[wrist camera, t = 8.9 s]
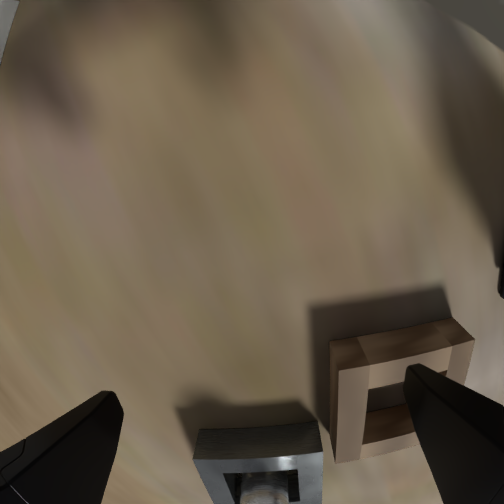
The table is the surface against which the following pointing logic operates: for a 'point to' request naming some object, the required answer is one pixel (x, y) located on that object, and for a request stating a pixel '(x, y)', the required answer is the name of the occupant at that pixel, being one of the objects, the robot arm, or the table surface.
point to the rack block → (261, 459)
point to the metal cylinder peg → (264, 488)
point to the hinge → (6, 21)
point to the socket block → (387, 383)
